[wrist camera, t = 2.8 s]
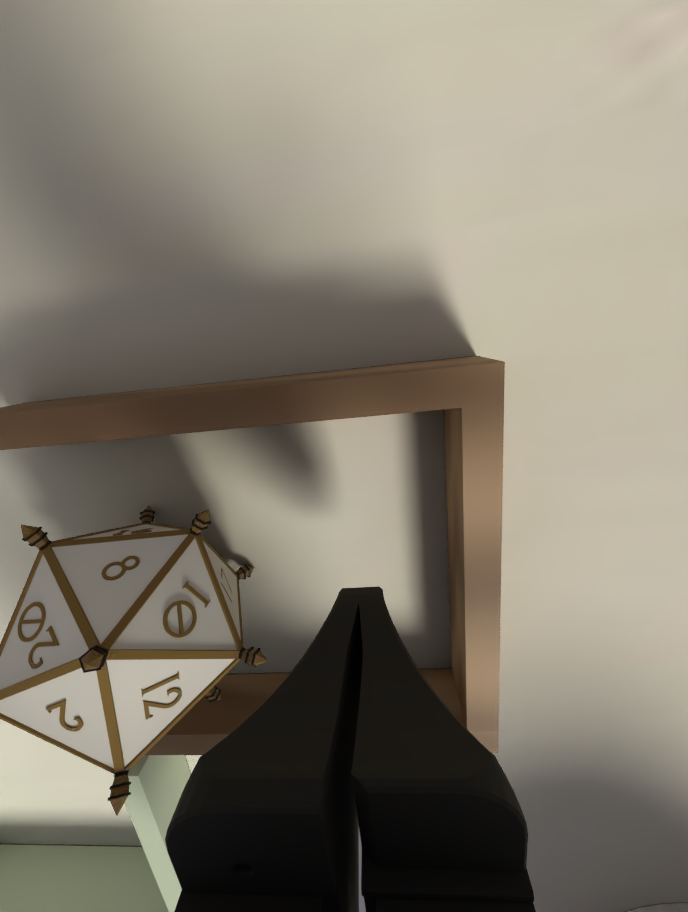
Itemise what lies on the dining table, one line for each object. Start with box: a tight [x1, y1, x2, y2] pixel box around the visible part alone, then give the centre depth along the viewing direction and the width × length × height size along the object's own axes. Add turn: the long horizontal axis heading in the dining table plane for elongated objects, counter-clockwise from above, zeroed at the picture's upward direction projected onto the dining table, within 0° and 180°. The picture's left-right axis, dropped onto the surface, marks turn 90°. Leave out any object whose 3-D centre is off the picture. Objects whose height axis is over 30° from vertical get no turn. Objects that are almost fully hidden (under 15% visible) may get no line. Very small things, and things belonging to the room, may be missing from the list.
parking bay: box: [0, 755, 191, 912], centre depth 21 cm, size 12×16×3 cm
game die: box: [0, 506, 267, 815], centre depth 13 cm, size 9×8×10 cm
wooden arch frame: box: [0, 356, 505, 755], centre depth 15 cm, size 15×18×3 cm
